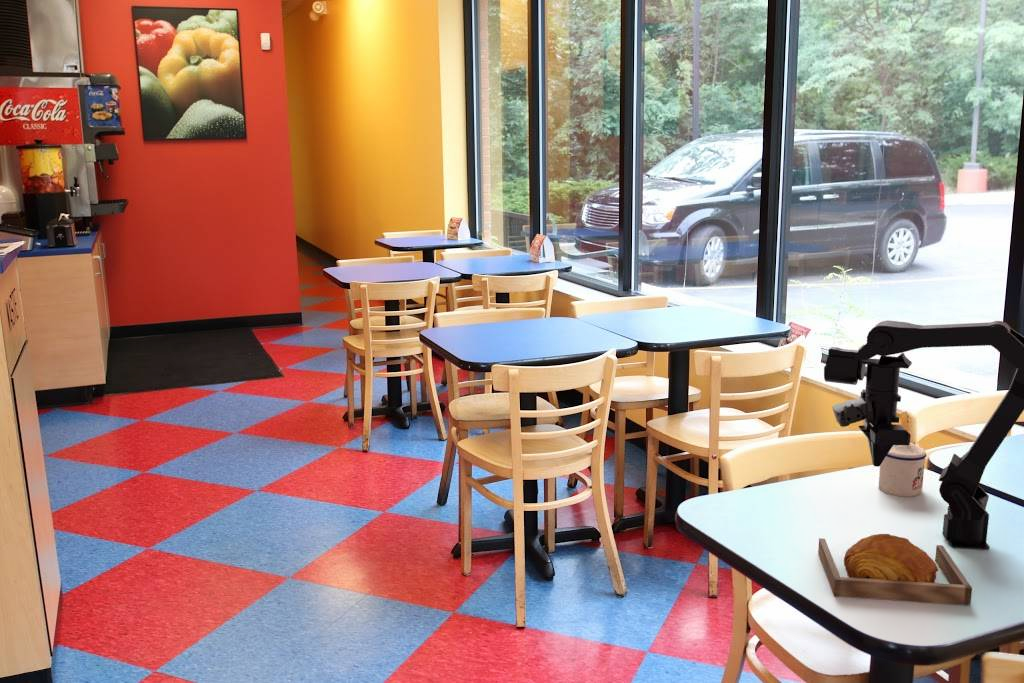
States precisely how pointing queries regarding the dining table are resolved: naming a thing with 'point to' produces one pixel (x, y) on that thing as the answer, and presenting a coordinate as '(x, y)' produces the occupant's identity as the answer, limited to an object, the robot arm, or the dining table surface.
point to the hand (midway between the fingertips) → (876, 465)
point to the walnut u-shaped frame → (900, 583)
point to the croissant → (889, 560)
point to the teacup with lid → (903, 470)
